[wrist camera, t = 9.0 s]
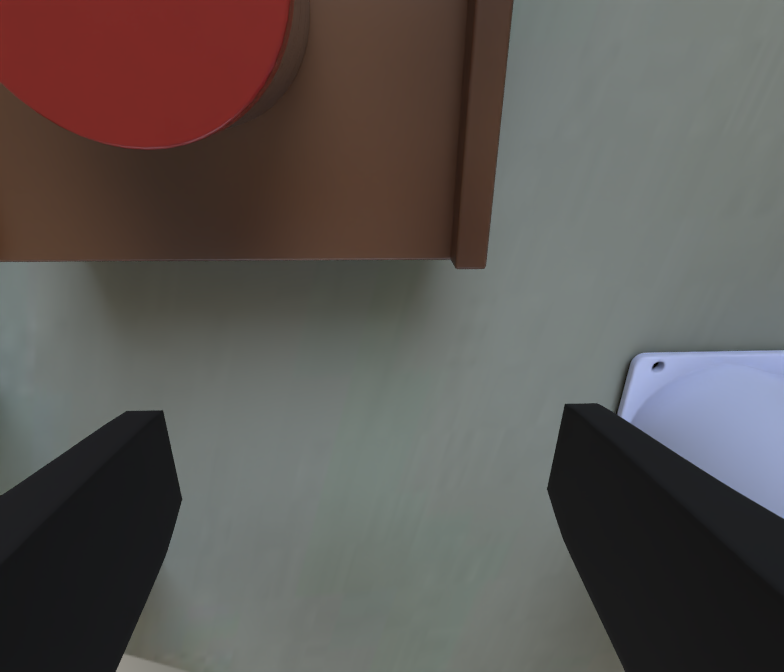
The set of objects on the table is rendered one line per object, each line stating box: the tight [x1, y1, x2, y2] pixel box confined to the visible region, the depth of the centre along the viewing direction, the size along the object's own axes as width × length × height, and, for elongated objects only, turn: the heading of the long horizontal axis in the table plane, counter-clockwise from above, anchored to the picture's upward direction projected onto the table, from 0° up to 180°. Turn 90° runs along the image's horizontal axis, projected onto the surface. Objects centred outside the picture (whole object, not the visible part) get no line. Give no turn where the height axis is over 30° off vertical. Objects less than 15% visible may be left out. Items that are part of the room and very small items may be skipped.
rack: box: [0, 0, 513, 269], centre depth 12 cm, size 13×11×6 cm
